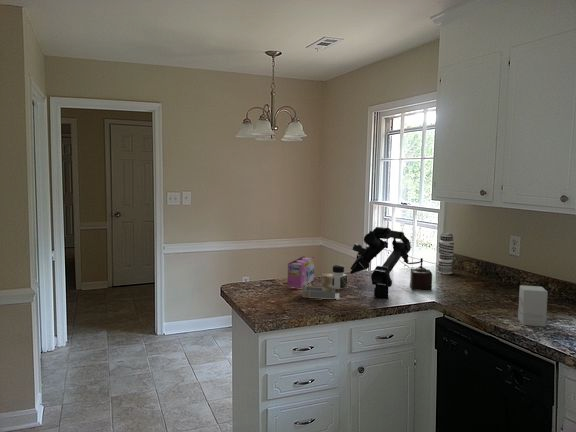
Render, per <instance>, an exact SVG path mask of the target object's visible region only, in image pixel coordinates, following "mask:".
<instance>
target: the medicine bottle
mask: <svg viewBox="0 0 576 432" xmlns="http://www.w3.org/2000/svg"><path fill="white" fill-rule="evenodd" d="M332 274H333V277H334V286H333V288H336V290H339V289H341V290H343V289H346V288H348V274H345V266H343V265H341V264H335V265H333V266H332Z"/></svg>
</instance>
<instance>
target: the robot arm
mask: <svg viewBox="0 0 576 432" xmlns="http://www.w3.org/2000/svg"><path fill="white" fill-rule="evenodd" d="M389 239H393V240H392V242H391V243H392V252H391V253H390V255H389V256H388V258H386V260H385V262H384V263H383V265H382V266H381V265H376V267H375V268H374V269H373V270H372V273H371V274H370V275H371V276H370V279H371V284H372V285H374V287H373V296H374V298H375V299H379V300H380V299H382V300H385V299H386V300H389V288H391V287H392V285H393V280H392V279H391V274H390V273H391V271H393V269H394V267H395V266H396V265H397V263H398V262H399V261H400V259H402V256H404V255H406V254H409V253H410V251H411V249H412V246H411V243H410V242H411V241H410V239H408V238H407V237H406V235H405V232H403V231H399V230H392V229H391V228H389V227H386V226H375V228H374V229H373V230H369V232H368V233H366V234H365V236H364V237H363V242H364V243H365V244H366V245H367V246H366V247H365V246H364V245H362V244H360V243H357V242H355V243H354V245H353V247H352V248H351V249H352V250H353V251H354V252H357V254H356V259H355V261H354V262H353V264H352V265H351V267H350V271H349V273H350V274H352V275H353V274H355V273H359V272H361V271H365V270H368V268H370V263H371V261H372V260H373V259H374V258H377V256H378V255H379V254H380V253H381V252H382V251H383V250H384V249H388V248H389V247H388V245H389V242H387V241H386V240H389ZM399 240H401V241H399Z"/></svg>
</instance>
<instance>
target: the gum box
mask: <svg viewBox="0 0 576 432" xmlns="http://www.w3.org/2000/svg"><path fill="white" fill-rule="evenodd" d="M315 275H316V274H315V257H312V258H310V257H306V256H300V257H299V258H296V259H295V260H292V261H290V262H288V263H287V288H288V287H295V288H302V287H303V283H304V281H307V284H308V283H310V282H311V281H313V280H314V279H316V278H315ZM313 282H314V281H313ZM310 284H311V283H310ZM308 285H309V284H308ZM302 289H303V288H302Z"/></svg>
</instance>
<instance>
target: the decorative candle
mask: <svg viewBox="0 0 576 432" xmlns="http://www.w3.org/2000/svg"><path fill="white" fill-rule="evenodd" d="M439 236H440V237H439V242H438V247H439V248H438V255H439V258H438V263H437V264H438V267H437V268H438V269H437V270H438V271H437V273H438V272H439V274H441V273H442V275H450V274H453V266H454V265H453V255H454V252H453V251H454V248H455V247H454V245H455V243H454V235H453V234H452V233H451V232H442V233H441V234H440V235H439Z"/></svg>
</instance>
